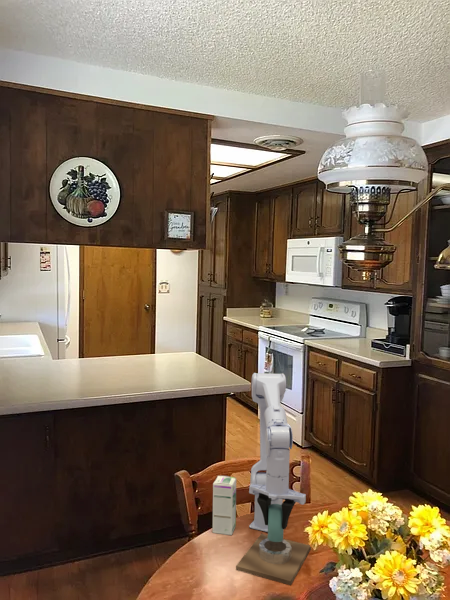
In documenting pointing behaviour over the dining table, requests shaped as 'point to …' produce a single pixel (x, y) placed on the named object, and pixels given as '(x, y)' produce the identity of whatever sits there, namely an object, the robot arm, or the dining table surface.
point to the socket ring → (275, 556)
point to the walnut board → (274, 571)
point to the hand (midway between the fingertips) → (275, 525)
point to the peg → (275, 523)
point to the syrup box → (224, 505)
